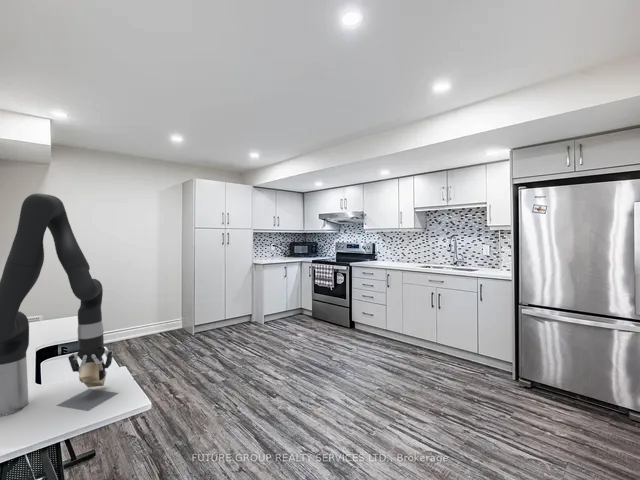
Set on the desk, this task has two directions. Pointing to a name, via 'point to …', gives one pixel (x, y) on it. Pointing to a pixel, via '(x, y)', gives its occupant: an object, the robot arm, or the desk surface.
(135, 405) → the desk surface
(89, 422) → the desk surface
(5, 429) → the desk surface
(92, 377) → the maple block
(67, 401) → the rubber mat
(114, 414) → the desk surface
